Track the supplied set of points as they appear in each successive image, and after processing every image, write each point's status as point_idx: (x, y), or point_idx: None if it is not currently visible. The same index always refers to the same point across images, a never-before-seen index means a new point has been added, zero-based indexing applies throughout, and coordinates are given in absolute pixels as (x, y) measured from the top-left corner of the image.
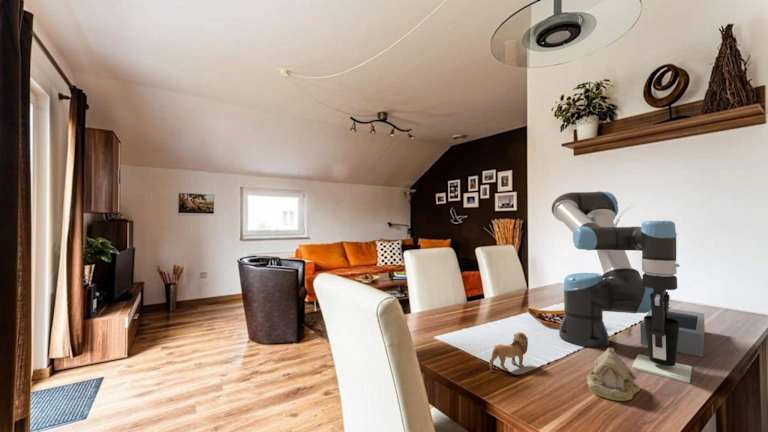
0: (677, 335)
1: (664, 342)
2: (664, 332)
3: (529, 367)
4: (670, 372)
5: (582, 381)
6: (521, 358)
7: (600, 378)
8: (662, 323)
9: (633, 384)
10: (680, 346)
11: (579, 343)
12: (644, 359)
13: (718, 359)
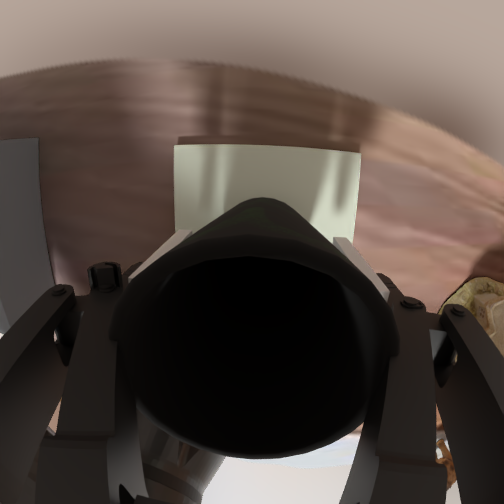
0: (288, 218)
1: (375, 276)
2: (397, 309)
3: (439, 435)
4: (314, 209)
5: None
6: (449, 452)
7: None
8: (499, 360)
9: (494, 294)
10: (26, 199)
11: None
12: None
13: (32, 103)
